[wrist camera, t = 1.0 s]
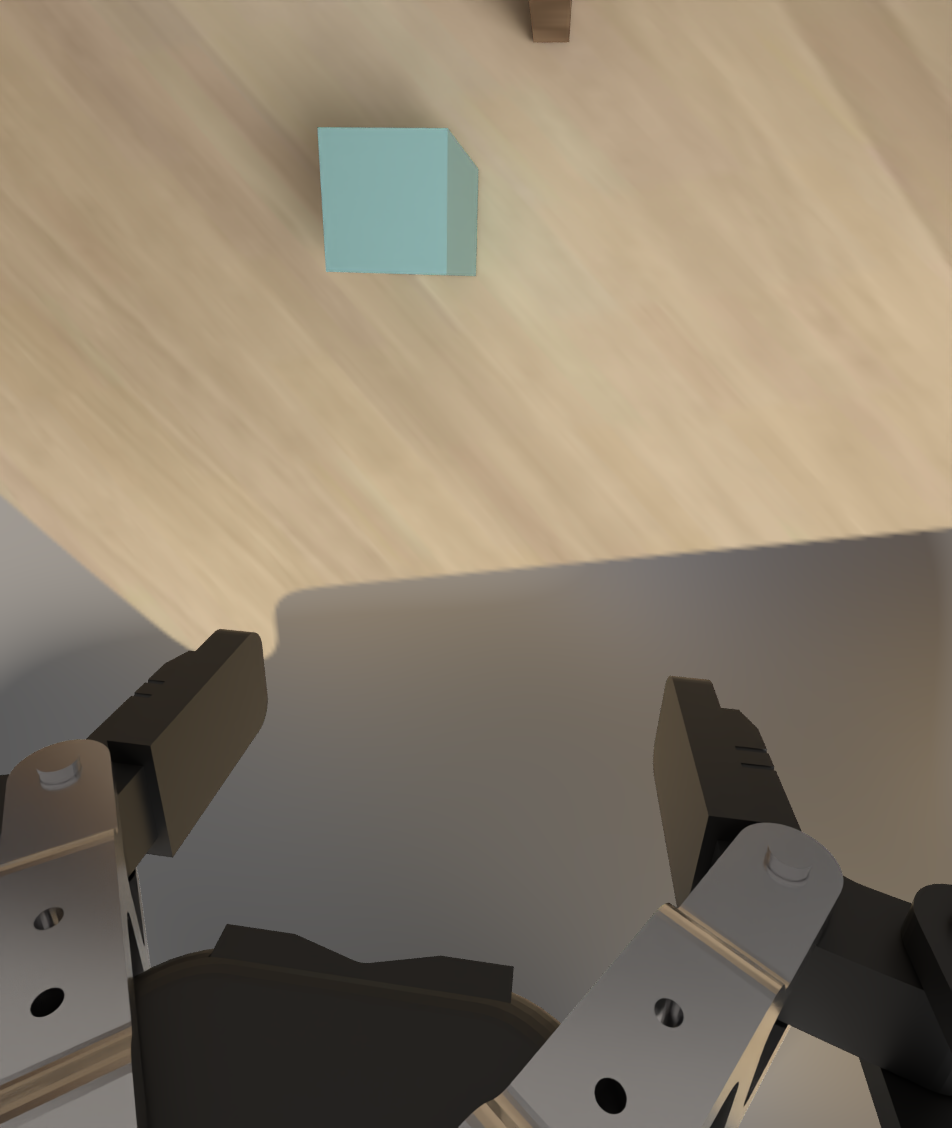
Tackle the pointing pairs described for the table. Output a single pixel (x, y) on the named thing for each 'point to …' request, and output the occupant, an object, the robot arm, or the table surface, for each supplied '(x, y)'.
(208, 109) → the table surface
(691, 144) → the table surface
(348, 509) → the table surface
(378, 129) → the teal block
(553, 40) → the walnut corner
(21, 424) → the table surface
